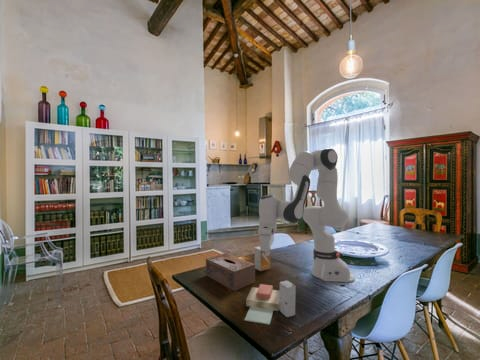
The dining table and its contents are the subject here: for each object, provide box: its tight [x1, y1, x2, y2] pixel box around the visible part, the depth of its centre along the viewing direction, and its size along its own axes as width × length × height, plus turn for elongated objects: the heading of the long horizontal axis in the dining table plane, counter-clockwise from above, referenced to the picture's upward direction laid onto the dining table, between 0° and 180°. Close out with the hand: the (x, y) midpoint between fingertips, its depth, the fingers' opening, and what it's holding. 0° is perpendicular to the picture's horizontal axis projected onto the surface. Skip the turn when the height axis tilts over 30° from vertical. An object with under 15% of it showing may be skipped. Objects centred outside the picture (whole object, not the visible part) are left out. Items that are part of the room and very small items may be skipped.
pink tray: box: [256, 283, 274, 299], centre depth 108 cm, size 9×6×2 cm, turn 164°
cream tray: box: [245, 286, 280, 312], centre depth 107 cm, size 14×12×3 cm
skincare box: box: [278, 280, 297, 318], centre depth 98 cm, size 6×4×12 cm
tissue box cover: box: [205, 252, 256, 292], centre depth 131 cm, size 26×14×10 cm, turn 41°
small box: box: [254, 246, 272, 272], centre depth 145 cm, size 8×6×13 cm
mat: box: [244, 306, 274, 326], centre depth 96 cm, size 10×10×1 cm
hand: (267, 255), depth 118 cm, fingers closed
